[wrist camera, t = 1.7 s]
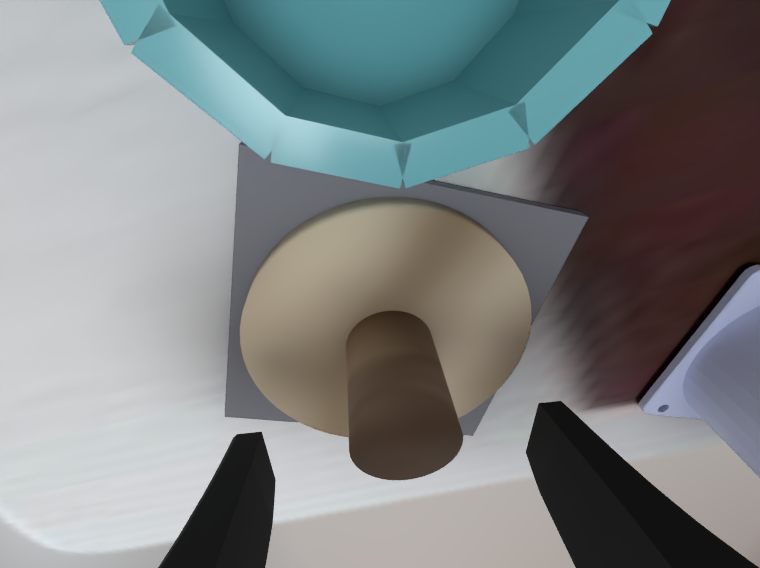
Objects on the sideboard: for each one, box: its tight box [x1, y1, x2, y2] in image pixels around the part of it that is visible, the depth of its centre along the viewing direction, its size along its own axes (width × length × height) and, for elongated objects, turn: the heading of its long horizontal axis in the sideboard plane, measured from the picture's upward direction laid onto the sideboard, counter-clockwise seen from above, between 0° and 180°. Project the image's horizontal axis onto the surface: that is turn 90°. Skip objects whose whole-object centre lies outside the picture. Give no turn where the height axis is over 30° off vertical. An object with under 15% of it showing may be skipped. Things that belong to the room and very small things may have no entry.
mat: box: [225, 142, 588, 436], centre depth 15 cm, size 11×11×1 cm
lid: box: [240, 197, 532, 480], centre depth 13 cm, size 10×10×5 cm
